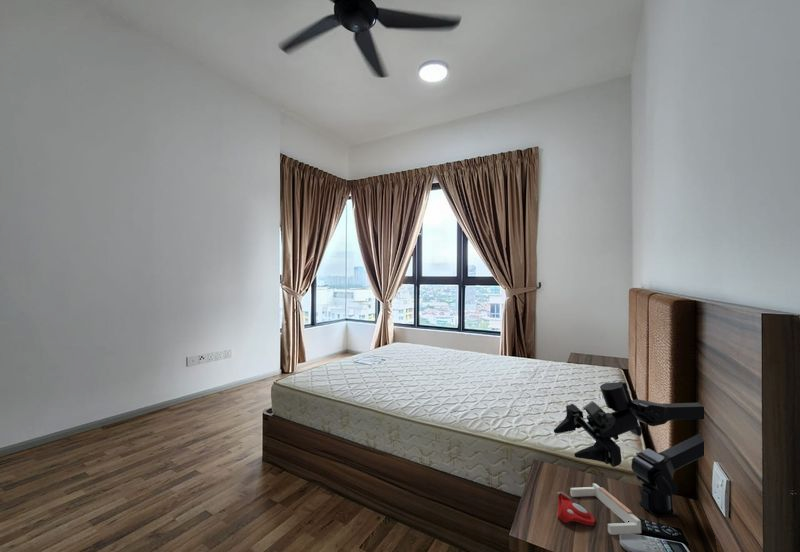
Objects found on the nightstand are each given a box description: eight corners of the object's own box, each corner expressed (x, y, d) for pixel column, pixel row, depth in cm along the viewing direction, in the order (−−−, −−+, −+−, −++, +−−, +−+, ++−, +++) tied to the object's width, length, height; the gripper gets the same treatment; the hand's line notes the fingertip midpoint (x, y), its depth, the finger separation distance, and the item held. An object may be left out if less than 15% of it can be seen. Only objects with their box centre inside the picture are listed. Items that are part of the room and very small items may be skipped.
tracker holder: (603, 517, 91) (582, 520, 86) (598, 533, 91) (577, 537, 86) (562, 486, 101) (542, 486, 96) (558, 500, 101) (537, 502, 96)
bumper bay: (596, 493, 104) (595, 482, 104) (641, 533, 86) (640, 518, 86) (570, 494, 103) (570, 483, 103) (610, 534, 85) (609, 520, 86)
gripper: (588, 382, 103) (540, 399, 102) (639, 423, 85) (583, 444, 84) (592, 411, 106) (546, 429, 105) (642, 457, 89) (588, 478, 87)
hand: (563, 443), depth 95 cm, fingers open, 9 cm apart
